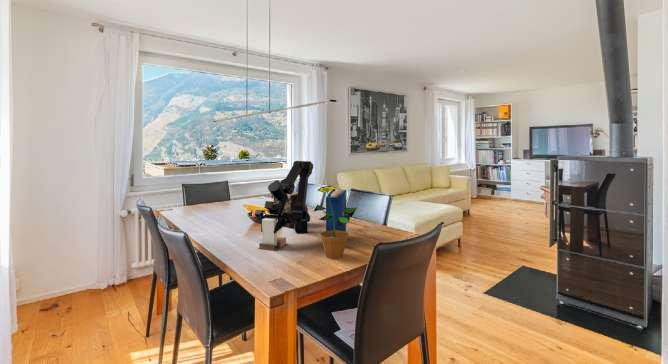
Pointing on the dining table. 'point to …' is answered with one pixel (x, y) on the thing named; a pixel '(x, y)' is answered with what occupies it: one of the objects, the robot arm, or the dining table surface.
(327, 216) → the potted plant
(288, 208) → the owl
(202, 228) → the dining table surface
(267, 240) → the tall white pillar
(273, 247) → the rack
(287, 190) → the robot arm
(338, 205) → the book
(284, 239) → the offcut top
